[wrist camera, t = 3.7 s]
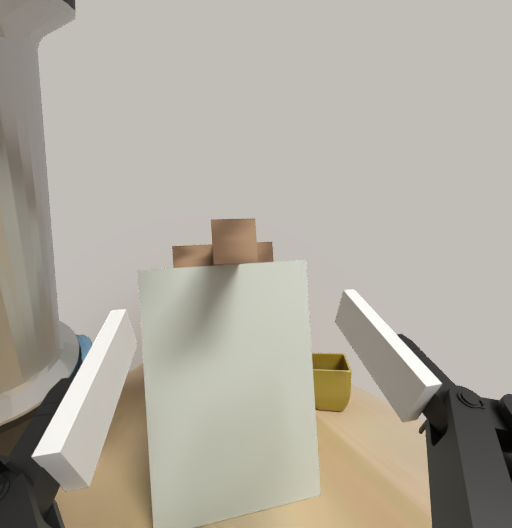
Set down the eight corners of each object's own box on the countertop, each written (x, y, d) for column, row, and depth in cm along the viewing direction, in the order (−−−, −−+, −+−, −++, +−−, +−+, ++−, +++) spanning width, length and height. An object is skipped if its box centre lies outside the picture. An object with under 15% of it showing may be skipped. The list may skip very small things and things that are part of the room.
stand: (153, 538, 26) (137, 270, 26) (171, 462, 35) (159, 269, 35) (320, 495, 29) (306, 260, 29) (294, 437, 39) (283, 261, 39)
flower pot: (307, 390, 53) (304, 351, 53) (347, 393, 51) (344, 352, 51) (306, 415, 44) (303, 369, 44) (355, 420, 42) (352, 371, 42)
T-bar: (124, 269, 14) (121, 222, 14) (178, 268, 35) (177, 248, 35) (331, 257, 17) (328, 216, 17) (267, 262, 37) (266, 244, 37)
